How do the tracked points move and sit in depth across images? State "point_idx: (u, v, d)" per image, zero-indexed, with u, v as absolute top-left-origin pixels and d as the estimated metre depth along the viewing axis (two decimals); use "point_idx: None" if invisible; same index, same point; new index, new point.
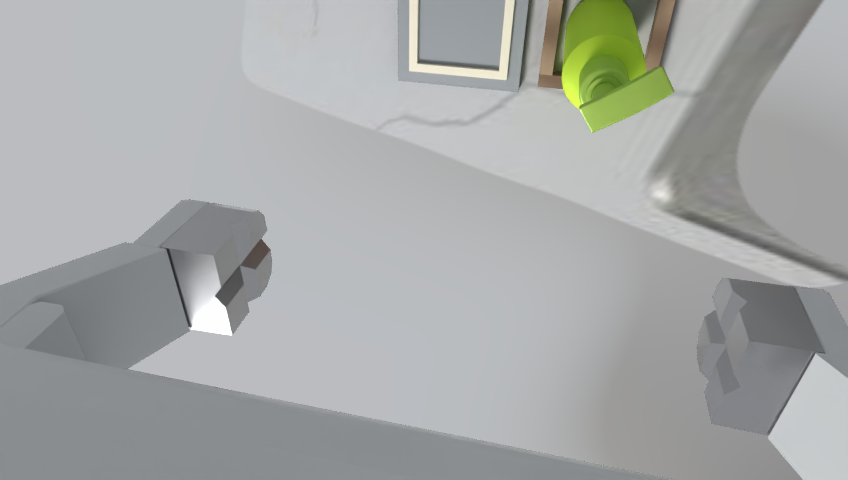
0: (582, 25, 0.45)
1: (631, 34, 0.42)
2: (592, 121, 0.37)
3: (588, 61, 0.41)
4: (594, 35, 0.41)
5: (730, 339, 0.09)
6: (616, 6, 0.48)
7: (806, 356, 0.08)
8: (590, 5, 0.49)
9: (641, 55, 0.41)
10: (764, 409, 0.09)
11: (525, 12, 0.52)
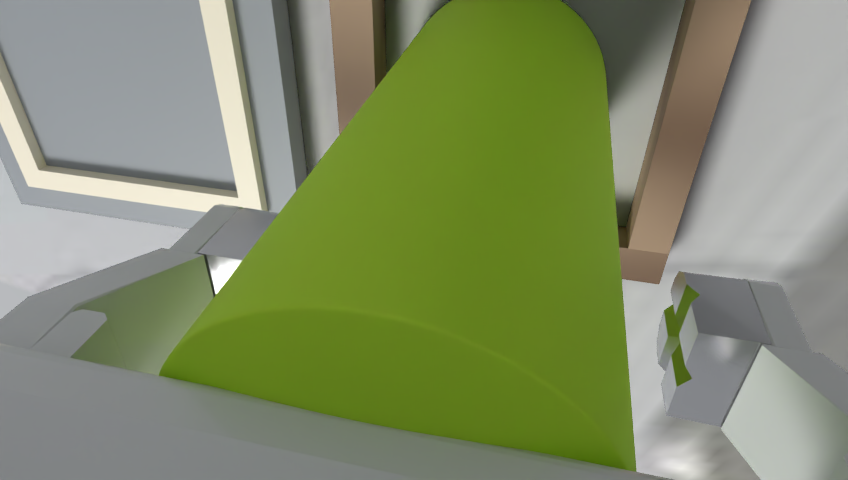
0: (344, 136, 0.10)
1: (551, 234, 0.07)
2: None
3: None
4: (272, 289, 0.06)
5: (683, 332, 0.09)
6: (529, 32, 0.12)
7: (753, 348, 0.08)
8: (441, 26, 0.13)
9: (602, 446, 0.06)
10: (716, 401, 0.09)
11: (272, 40, 0.17)
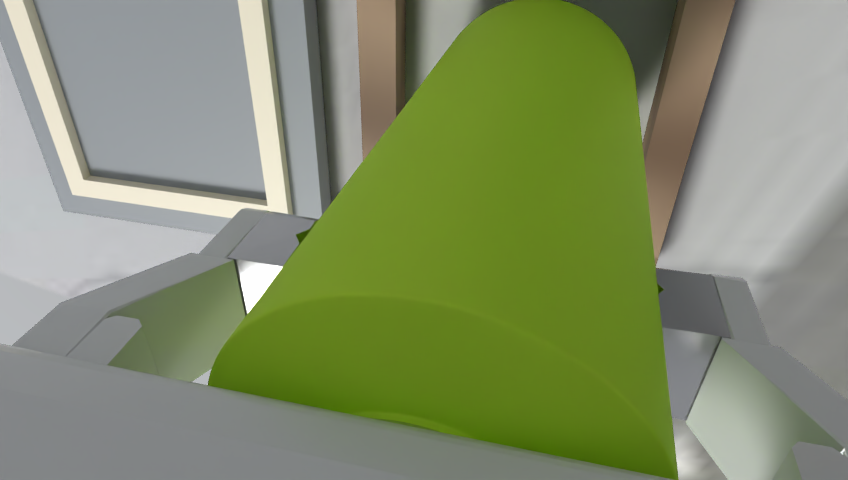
0: (389, 137, 0.10)
1: (597, 237, 0.07)
2: None
3: None
4: (335, 277, 0.06)
5: None
6: (566, 44, 0.13)
7: (714, 341, 0.08)
8: (479, 35, 0.14)
9: (649, 440, 0.06)
10: (680, 394, 0.09)
11: (304, 65, 0.19)
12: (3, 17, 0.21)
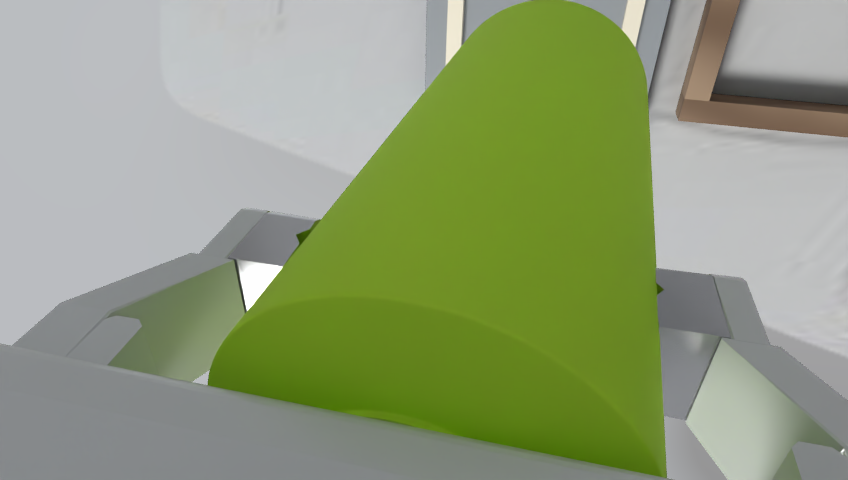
0: (394, 138, 0.10)
1: (594, 242, 0.07)
2: None
3: None
4: (329, 277, 0.06)
5: None
6: (575, 47, 0.13)
7: (713, 341, 0.08)
8: (489, 37, 0.14)
9: (637, 445, 0.06)
10: (680, 394, 0.09)
11: None
12: None
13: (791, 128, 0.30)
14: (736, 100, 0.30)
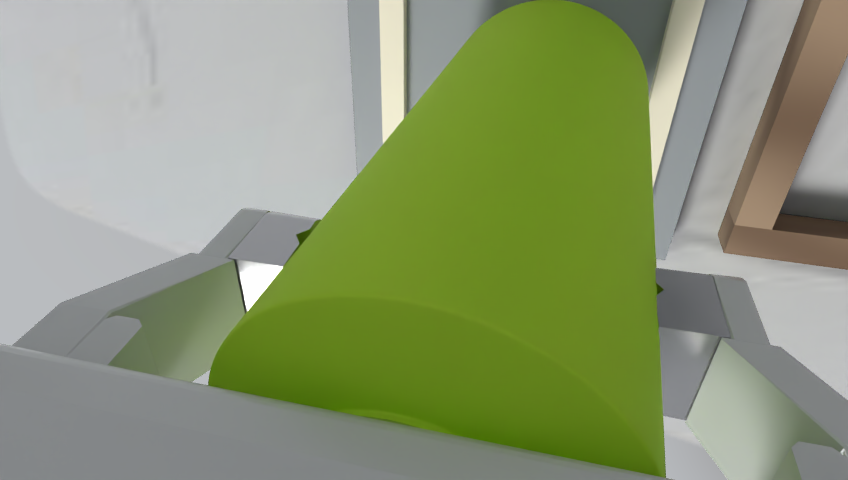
0: (394, 139, 0.10)
1: (593, 243, 0.07)
2: None
3: None
4: (330, 278, 0.06)
5: None
6: (576, 47, 0.13)
7: (713, 341, 0.08)
8: (489, 37, 0.14)
9: (635, 445, 0.06)
10: (679, 394, 0.09)
11: (722, 64, 0.18)
12: (362, 12, 0.19)
13: None
14: (813, 228, 0.20)
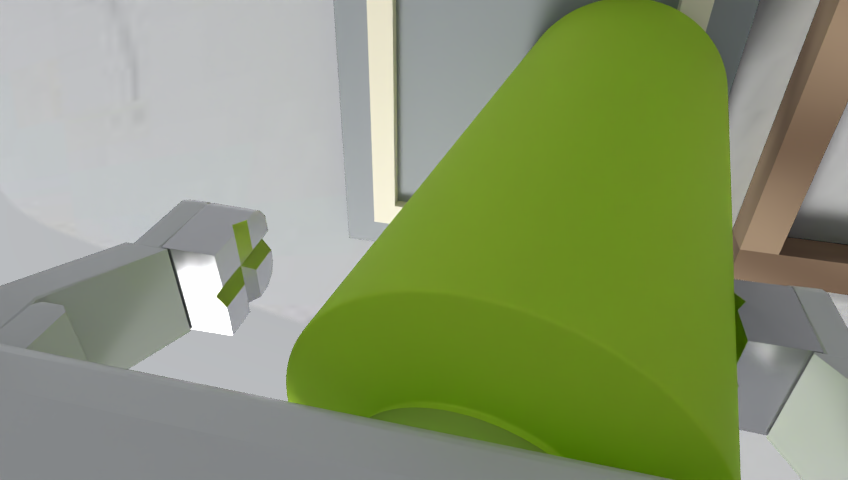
0: (471, 136, 0.10)
1: (675, 252, 0.07)
2: None
3: None
4: (414, 273, 0.06)
5: None
6: (657, 48, 0.12)
7: (804, 356, 0.08)
8: (566, 36, 0.14)
9: (714, 460, 0.06)
10: (763, 409, 0.09)
11: (727, 83, 0.17)
12: (350, 28, 0.18)
13: None
14: (822, 253, 0.19)
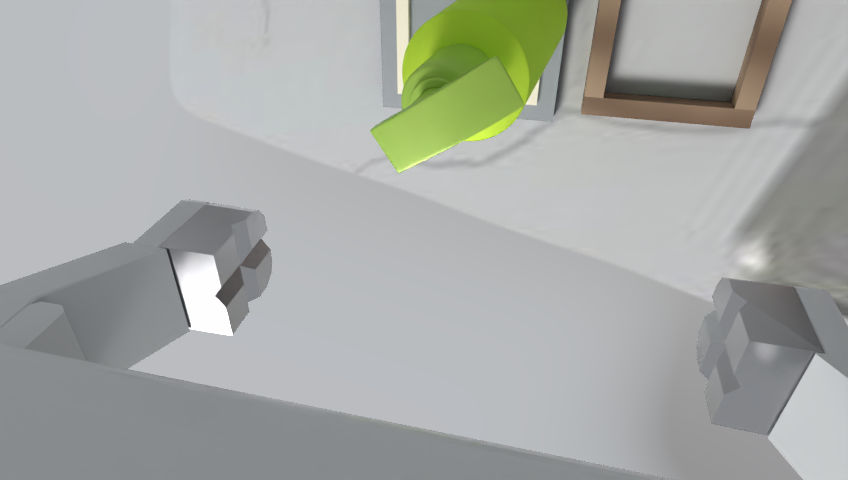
0: None
1: (514, 13, 0.26)
2: (394, 153, 0.21)
3: (433, 54, 0.25)
4: (443, 11, 0.25)
5: (730, 339, 0.09)
6: None
7: (806, 356, 0.08)
8: None
9: (518, 45, 0.24)
10: (764, 409, 0.09)
11: None
12: None
13: (668, 119, 0.38)
14: (625, 97, 0.38)
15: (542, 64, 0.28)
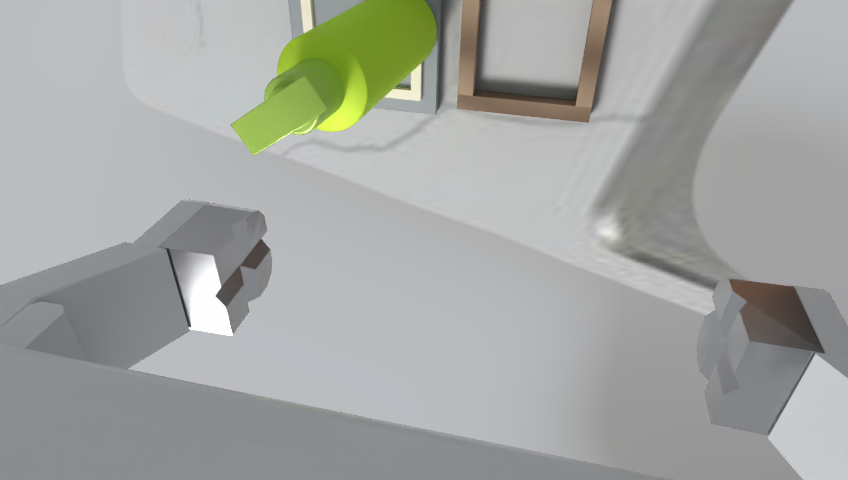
0: None
1: (360, 34, 0.34)
2: (248, 141, 0.30)
3: (295, 66, 0.33)
4: (302, 34, 0.33)
5: (730, 339, 0.09)
6: (390, 1, 0.40)
7: (806, 356, 0.08)
8: None
9: (355, 61, 0.33)
10: (764, 409, 0.09)
11: (436, 21, 0.44)
12: (294, 1, 0.45)
13: (524, 113, 0.46)
14: (491, 95, 0.46)
15: (390, 72, 0.36)
